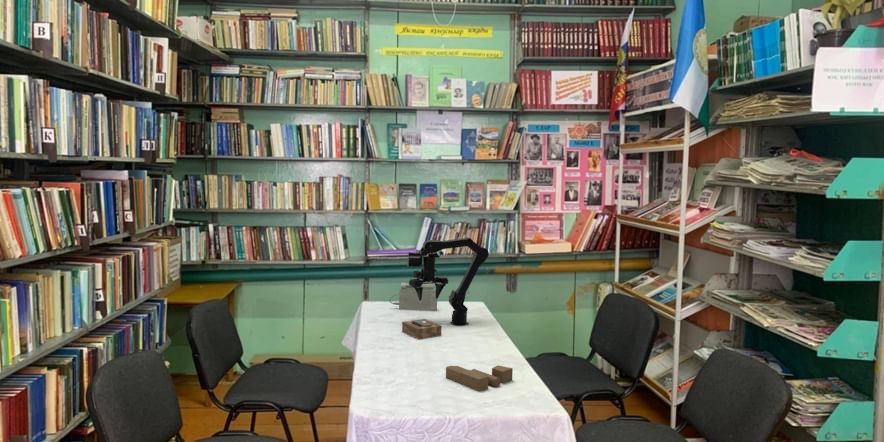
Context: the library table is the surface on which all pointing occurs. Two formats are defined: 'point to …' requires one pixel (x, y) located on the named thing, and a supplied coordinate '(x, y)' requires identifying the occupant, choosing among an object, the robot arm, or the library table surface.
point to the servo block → (421, 323)
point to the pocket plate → (421, 329)
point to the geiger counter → (416, 298)
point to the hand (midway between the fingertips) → (428, 299)
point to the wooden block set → (479, 376)
